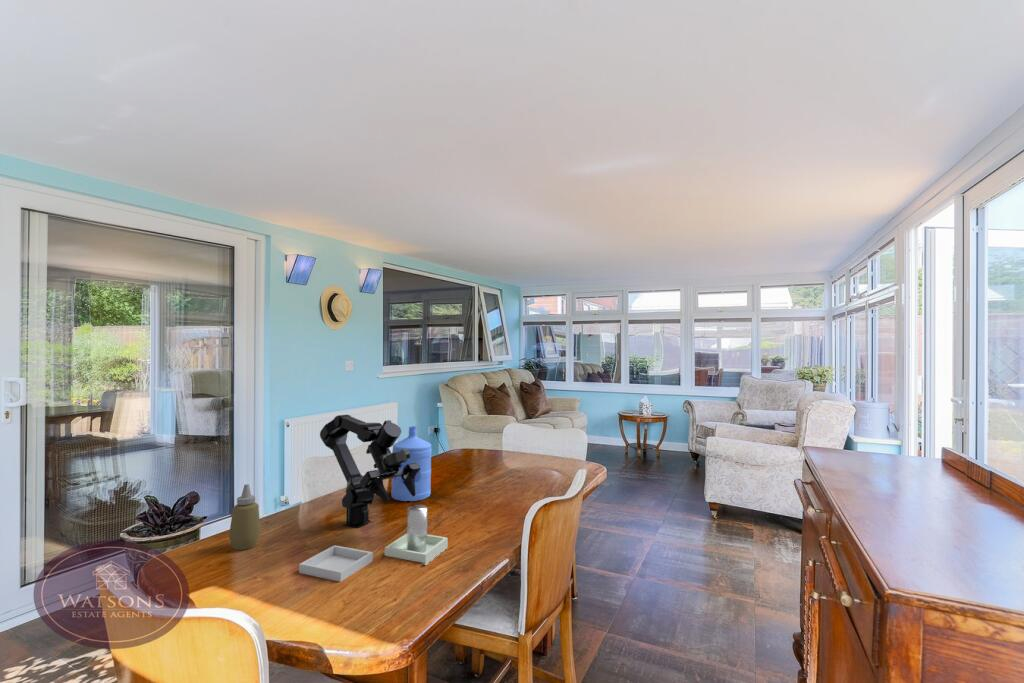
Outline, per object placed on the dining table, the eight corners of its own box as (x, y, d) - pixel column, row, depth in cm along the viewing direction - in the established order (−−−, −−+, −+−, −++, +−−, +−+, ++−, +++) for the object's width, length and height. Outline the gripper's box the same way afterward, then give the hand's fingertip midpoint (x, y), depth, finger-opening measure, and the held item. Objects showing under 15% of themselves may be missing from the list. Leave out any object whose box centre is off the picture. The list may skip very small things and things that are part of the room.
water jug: (412, 488, 201) (413, 423, 202) (438, 495, 192) (440, 426, 193) (382, 497, 189) (384, 427, 190) (409, 504, 179) (411, 431, 180)
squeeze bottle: (266, 543, 140) (268, 482, 141) (242, 554, 133) (245, 489, 133) (245, 539, 143) (248, 480, 144) (221, 549, 135) (224, 486, 136)
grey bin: (298, 575, 120) (299, 563, 121) (334, 555, 133) (334, 545, 133) (340, 584, 116) (340, 572, 116) (372, 563, 128) (373, 552, 128)
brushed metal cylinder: (407, 555, 132) (408, 511, 132) (406, 547, 138) (406, 505, 138) (427, 552, 134) (428, 509, 134) (425, 545, 139) (426, 503, 140)
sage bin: (384, 558, 132) (384, 547, 132) (409, 541, 144) (409, 531, 144) (425, 565, 127) (425, 554, 127) (447, 547, 140) (447, 537, 140)
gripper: (366, 444, 139) (386, 489, 131) (417, 437, 153) (438, 477, 145) (351, 467, 144) (370, 511, 136) (403, 458, 158) (422, 498, 150)
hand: (401, 498), depth 142 cm, fingers open, 9 cm apart
